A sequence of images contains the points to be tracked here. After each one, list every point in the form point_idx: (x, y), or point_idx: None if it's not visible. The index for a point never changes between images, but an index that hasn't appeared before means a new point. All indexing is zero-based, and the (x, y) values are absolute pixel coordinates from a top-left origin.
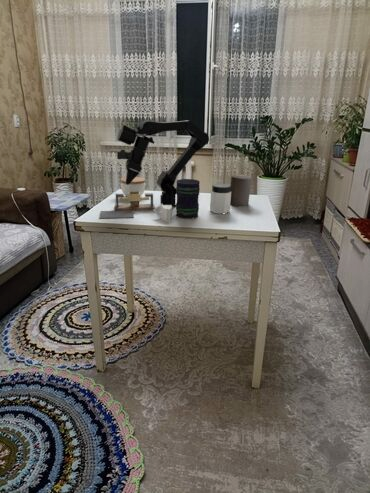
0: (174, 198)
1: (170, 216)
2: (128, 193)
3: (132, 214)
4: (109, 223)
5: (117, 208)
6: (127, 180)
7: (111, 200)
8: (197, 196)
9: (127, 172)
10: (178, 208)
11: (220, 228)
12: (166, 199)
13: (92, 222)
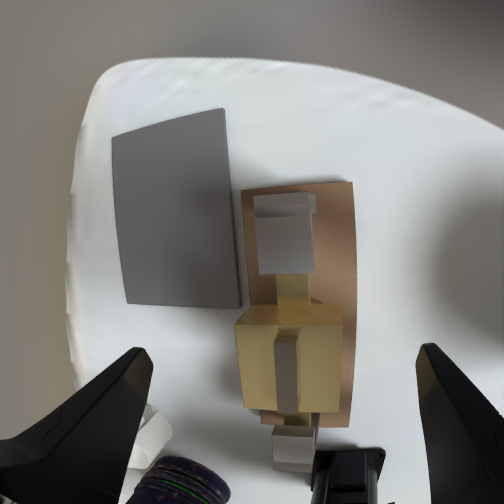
0: None
1: None
2: None
3: (162, 301)
4: (70, 198)
5: (247, 209)
6: (102, 382)
7: (500, 155)
8: None
9: (475, 451)
10: (159, 479)
11: None
12: (316, 490)
13: (81, 126)
